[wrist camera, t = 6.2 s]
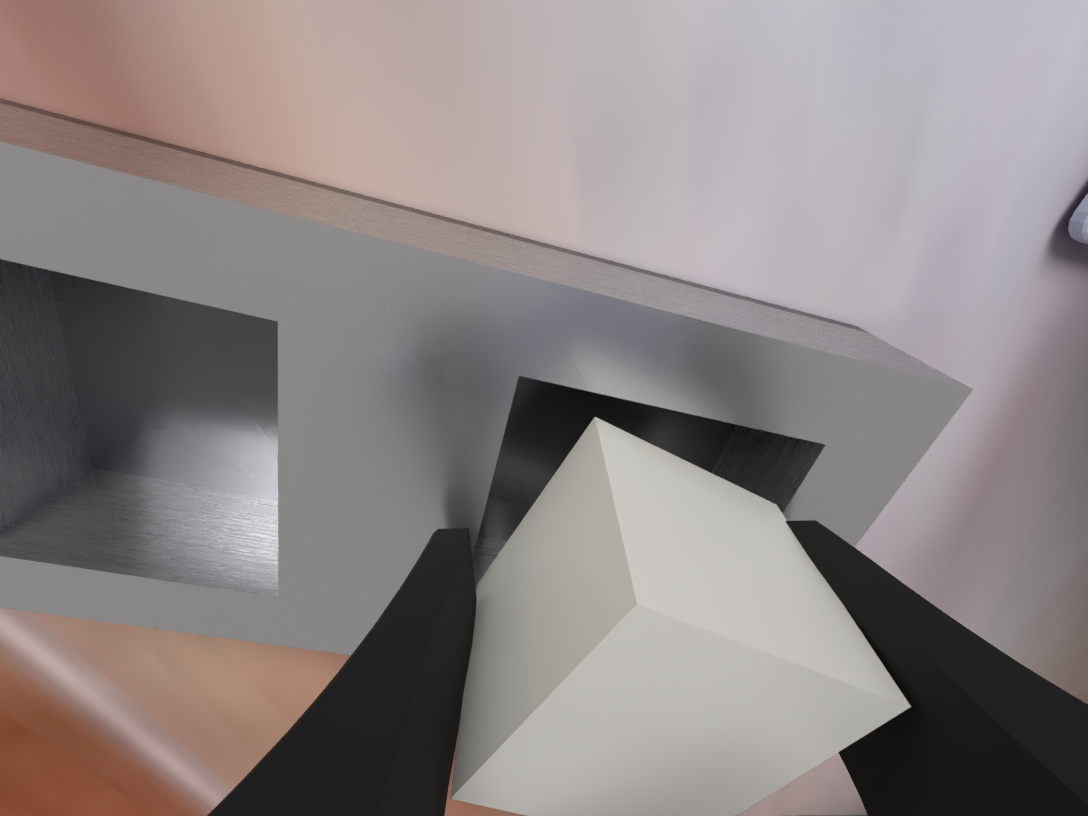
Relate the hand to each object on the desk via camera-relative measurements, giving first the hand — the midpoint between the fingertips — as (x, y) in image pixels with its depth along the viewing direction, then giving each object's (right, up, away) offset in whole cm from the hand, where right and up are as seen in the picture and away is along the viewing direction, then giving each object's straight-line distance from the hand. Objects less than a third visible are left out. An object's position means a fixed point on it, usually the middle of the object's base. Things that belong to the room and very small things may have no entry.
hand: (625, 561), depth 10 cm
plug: (0, +1, +2) cm, 2 cm away
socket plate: (-5, +3, +3) cm, 6 cm away
